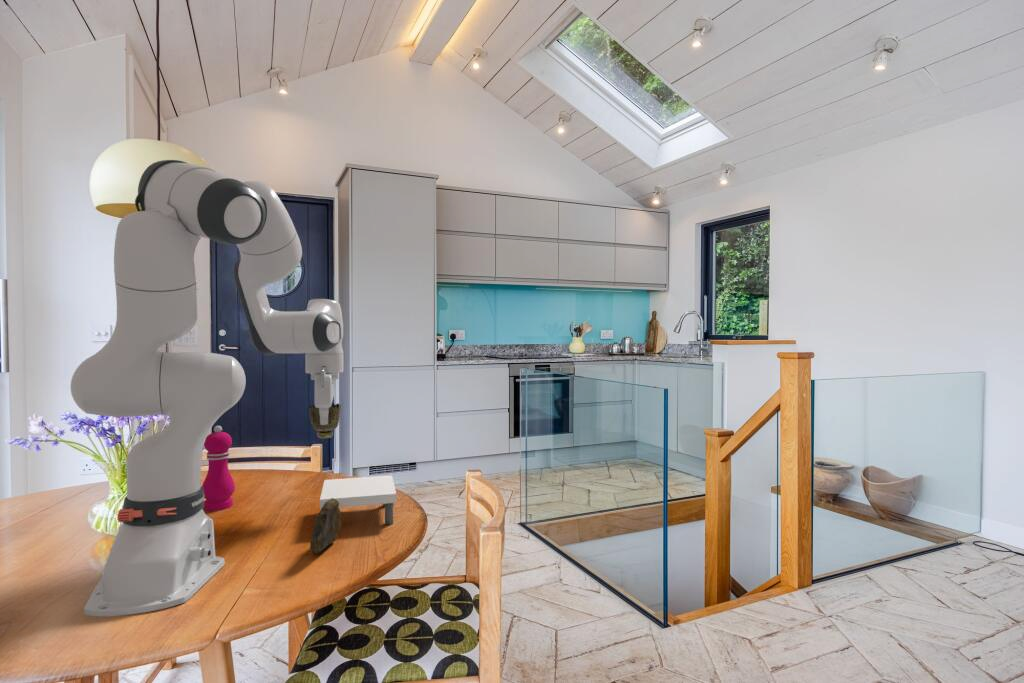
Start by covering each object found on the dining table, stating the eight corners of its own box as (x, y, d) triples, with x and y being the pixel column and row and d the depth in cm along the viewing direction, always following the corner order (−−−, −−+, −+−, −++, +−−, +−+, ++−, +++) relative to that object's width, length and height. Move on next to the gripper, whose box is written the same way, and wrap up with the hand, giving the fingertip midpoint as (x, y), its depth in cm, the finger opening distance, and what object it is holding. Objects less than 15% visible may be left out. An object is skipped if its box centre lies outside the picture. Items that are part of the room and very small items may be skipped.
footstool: (396, 525, 119) (396, 493, 119) (319, 532, 115) (319, 499, 115) (392, 503, 135) (392, 475, 134) (324, 508, 130) (324, 479, 130)
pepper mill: (224, 512, 127) (224, 428, 127) (194, 512, 127) (194, 428, 127) (240, 502, 135) (240, 423, 134) (212, 502, 135) (211, 423, 134)
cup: (304, 440, 127) (304, 406, 127) (314, 434, 135) (314, 403, 135) (336, 440, 128) (336, 406, 128) (344, 434, 135) (344, 402, 135)
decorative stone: (344, 492, 108) (327, 488, 109) (321, 517, 99) (303, 513, 100) (340, 537, 111) (324, 533, 111) (318, 565, 102) (301, 562, 102)
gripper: (337, 367, 122) (337, 428, 122) (339, 363, 142) (339, 416, 142) (307, 368, 120) (308, 429, 120) (313, 364, 140) (313, 417, 140)
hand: (324, 422), depth 131 cm, fingers closed on cup, 6 cm apart
